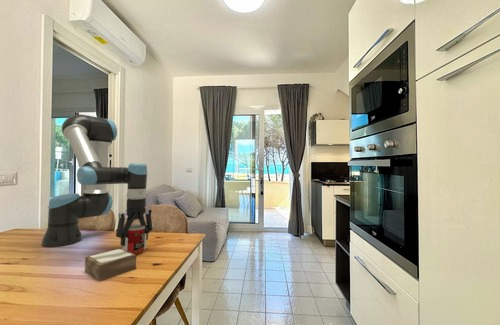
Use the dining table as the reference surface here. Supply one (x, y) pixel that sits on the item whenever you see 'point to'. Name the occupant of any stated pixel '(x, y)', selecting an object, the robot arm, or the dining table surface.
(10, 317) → the dining table surface
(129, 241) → the canned food
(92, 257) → the base block
